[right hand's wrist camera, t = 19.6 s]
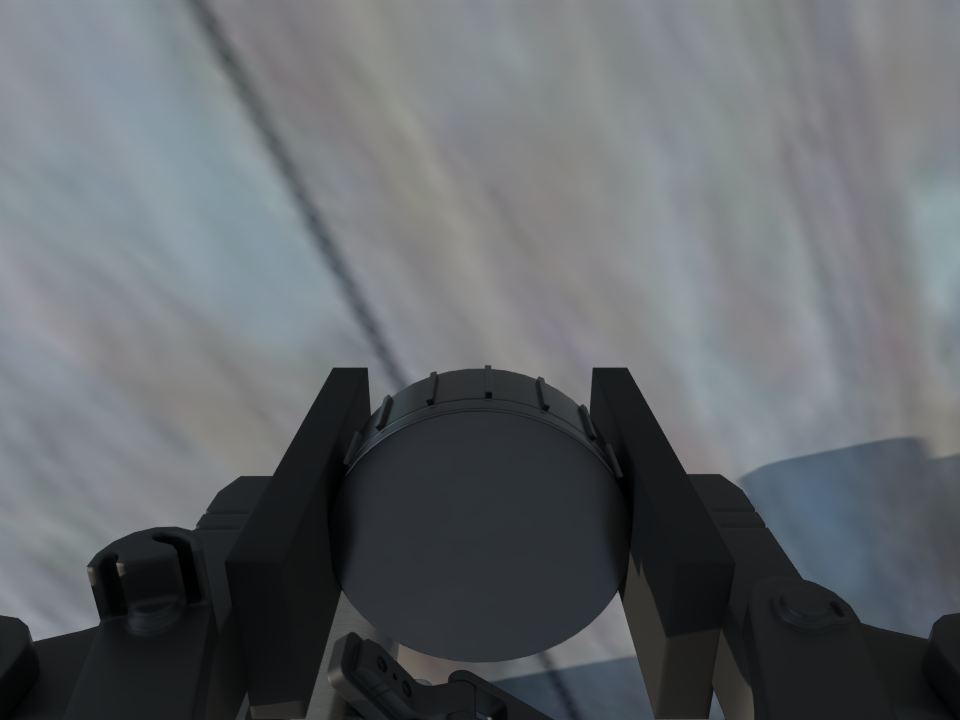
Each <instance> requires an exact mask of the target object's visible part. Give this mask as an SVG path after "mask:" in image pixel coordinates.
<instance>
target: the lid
mask: <svg viewBox="0 0 960 720" xmlns="http://www.w3.org/2000/svg"><path fill="white" fill-rule="evenodd" d="M341 468H343V469H344V472H343V474H342V477H341V480H340V482H339V485H338V488H337V490H336V493H335V496H334V499H333V501H332V504H331V507H330V513H329V518H328V533H329V543H330V553H331V562H332V568H333V571H334V574H335V576H336V578H337V581H338V583H339V585H340V587H341V589H342V591H343V592H344V594H345V595H346V597H347V598H348V600H349V601H350V603H351V604H352V605H353V606H354V608H355V609H356V610H357V611H358V612H359V613H360V615H361V616H362V617H364V618H365V619H366V620H367V621H368V622H369V623H370V624H371V625H372V626H373V627H375V628H376V629H378V630H379V631H380V632H382V633H383V634H385V635H386V636H387V637H389V638H391V639H393V640H395V641H396V642H398V643H400V644H402V645H404V646H406V647H409V648H411V649H413V650H416V651H418V652H421V653H424V654H428V655H431V656H434V657H438V658H443V659H449V660H454V661H464V662H497V661H506V660H512V659H517V658H521V657H526V656H530V655H533V654H536V653H539V652H542V651H545V650H547V649H549V648H552V647H554V646H556V645H558V644H560V643H562V642H564V641H566V640H567V639H569V638H571V637H572V636H574V635H576V634H577V633H579V632H580V631H581V630H582V629H584V628H585V627H586V626H588V625H589V624H590V623H591V622H592V621H593V620H594V619H595V618H596V617H597V616H598V615H600V614H601V613H602V612H603V610H604V609H605V608H606V607H607V605H608V604H609V603H610V601H611V600H612V599H613V597H614V596H615V594H616V592H617V591H618V589H619V587H620V585H621V584H622V581H623V579H624V576H625V574H626V571H627V569H628V565H629V557H630V547H631V537H632V516H631V512H630V508H629V504H628V500H627V498H626V495H625V492H624V490H623V487H622V484H621V482H623V481H625V478H624V475H623V473H622V470H621V468H620V465H619V463H618V460H617V457H616V455H615V452H614V450H613V447H612V445H611V443H610V444H607V445H606V442H605V440H604V438H603V436H602V435H601V433H600V431H599V430H598V428H597V426H596V425H595V423H594V422H593V421H592V420H591V418H590V416H589V413H588V410H587V407H585V406H584V405H583V404H582V405H581V406H580V407H579V406H578V405H577V404H576V403H575V402H574V401H573V400H572V399H570V398H569V397H568V396H566V395H565V394H563V393H562V392H560V391H559V390H557V389H556V388H554V387H552V386H550V385H548V384H546V383H545V380H544V378H542V377H538V379H534V378H531V377H529V376H526V375H523V374H518V373H514V372H510V371H505V370H495V369H491V366H490V365H485V369H464V370H457V371H450V372H446V373H442V374H437V372H436V371H435V372H432V373H431V374H430V377H428V378H426V379H423V380H421V381H419V382H416V383H414V384H412V385H410V386H408V387H407V388H405V389H403V390H401V391H400V392H398V393H397V394H395V395H394V396H393V397H390V395H387V396H386V397H385V398H384V400H383V403H382V406H381V407H380V408H379V409H378V410H377V411H376V412H375V413H374V414H373V415H372V416H371V417H370V418H369V420H368V421H367V422H366V424H365V425H364V426H363V428H362V429H361V431H360V433H359V432H357V431H355V433H354V434H353V437H352V439H351V442H350V444H349V447H348V450H347V452H346V455H345V457H344V460H343V463H342V465H341Z"/></svg>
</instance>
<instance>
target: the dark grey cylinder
mask: <svg viewBox="0 0 960 720" xmlns="http://www.w3.org/2000/svg"><path fill="white" fill-rule="evenodd" d="M350 632H355V633H357V634H358V635H359V636H360V637H361V638H362V639H363V640H366V639H370V640H372V641H374V642H376V643H378V644H380V645H381V646H382V647H383V648H384V649H385V650H386V651H387V652H388V654H390V655H391V656H392V657H393V658H394V661H395V660H396V661H397V657H398V650H399V644H400V643H398V642H396V641H395V640H393V639H391V638H389V637H387V636H386V635H385V634H383V633H382V632H380V631H379V630H378V629H376V628H375V627H373V626H372V625H371V624H370V623H369V622H368V621H367V620H366V619H365V618H364V617H362V616H361V615H360V613H359V612H358V611H357V610H356V609H355V608H354V606H353V605H352V604H351V603H350V601H349V600H348V598H347V597H346V595H345V594H344V592H343V591H342V592H341V595H340V599H339V602H338V606H337V609H336V613H335V616H334V620H333V623H332V627H331V630H330V634H329V638H328V641H327V645H326V648H325V652H324V655H323V659H322V662H321V666H320V669H319V673H318V676H317V680H316V683H315V687H314V690H313V694H312V697H311V701H310V704H309V708H308V711H307V715H306V718H305V719H282V720H367V719H366V718H365V717H364V716H362V715H361V714H360V713H359V712H358V711H357V710H356V709H355V708H354V707H353V706H352V705H351V704H350V703H349V702H348V701H347V700H346V699H344V698H343V697H342V696H341V695H340V694H339V693H338V692H337V691H336V690H335V689H334V688H333V687H332V686H331V684H330V683H329V680H328V676H327V670H328V666H329V662H330V658H331V654H332V650H333V647H334V643H335V641H336V640H338V639H339V638H341V637H343V636H345V635H346V634H348V633H350Z"/></svg>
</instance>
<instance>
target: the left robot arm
mask: <svg viewBox="0 0 960 720" xmlns="http://www.w3.org/2000/svg"><path fill="white" fill-rule="evenodd" d="M327 676H328V680H329V683H330V684H331V686H332V687H333V688H334V689H335V690H336V691H337V692H338V693H339V694H340V695H341V696H342V697H343V698H344V699H346V700H347V701H348V702H349V703H350V704H351V705H352V706H353V707H354V708H355V709H356V710H357V711H358V712H359V713H360V714H361V715H362V716H364V717H365V718H366V719H367V720H481V719H479V718H477V717H476V711H477V712H479V713H481V714H483V715H484V716H485V717H486V718H487V719H488V720H553V719H552V718H550V717H548V716H546V715H545V714H543V713H541V712H540V711H538V710H536V709H534V708H533V707H531V706H529V705H527V704H526V703H524V702H522V701H520V700H519V699H517V698H515V697H513V696H512V695H510V694H508V693H506V692H505V691H503V690H501V689H499V688H498V687H496V686H494V685H492V684H491V683H489V682H487V681H485V680H484V679H482V678H480V677H478V676H477V675H475V674H473V673H472V672H469V671H467V670H458V671H455V672H453V673H452V674H451V675H450V676H449V678H448V683H446V684H440V685H435V686H432V684H431V683H430V682H428V681H426V680H423V679H415V680H414V679H413V678H412V677H411V676H410V675H409V674H408V673H407V672H406V671H405V670H404V669H403V668H402V667H401V666H400V665H399V663H398V662H397V661H396V660H395V661H394V658H393V657H392V656H391V655H390V654H388V652H387V651H386V650H385V649H384V648H383V647H382V646H381V645H380V644H378V643H376V642H374V641H372V640H370V639H366V640H363V639H362V638H361V637H360V636H359V635H358V634H357V633H355V632H350V633H348V634H346V635H345V636H343V637H341V638H339V639H338V640H336V641H335V643H334V647H333V650H332V654H331V658H330V662H329V666H328V670H327ZM236 720H282V719H252V716H251V711H250V705H249V699H248V694H247V693H246V695H245V698H244V700H243V703H242V705H241V708H240V710H239V713H238V715H237V718H236Z"/></svg>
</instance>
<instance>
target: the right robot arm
mask: <svg viewBox="0 0 960 720" xmlns="http://www.w3.org/2000/svg"><path fill="white" fill-rule="evenodd" d="M370 417H371V410H370V396H369V381H368V368H333V369H332V371H331V373H330V374H329V376H328V378H327V380H326V382H325V383H324V385H323V387H322V389H321V391H320V392H319V394H318V396H317V398H316V400H315V401H314V403H313V405H312V407H311V408H310V410H309V412H308V414H307V416H306V417H305V419H304V421H303V423H302V425H301V426H300V428H299V430H298V432H297V434H296V435H295V437H294V439H293V441H292V442H291V444H290V446H289V448H288V450H287V451H286V453H285V455H284V457H283V459H282V460H281V462H280V464H279V466H278V467H277V469H276V471H275V473H274V475H273V476H240V477H239V478H238V479H236V480H235V481H233V482H232V483H231V484H229V485H228V486H226V487H225V488H224V489H222V490H221V491H219V492H218V494H217V495H216V497H215V498H214V500H213V501H212V503H211V504H210V506H209V507H208V508H207V510H206V514H203V516H202V517H201V519H200V520H199V522H198V523H197V525H196V529H195V530H193V531H191V530H187V529H183V528H179V527H155V528H151V529H147V530H143V531H138V532H134V533H132V534H130V535H127V536H125V537H123V538H121V539H118V540H116V541H114V542H112V543H111V544H110V545H108V546H107V547H105V548H104V549H103V550H101V551H100V552H98V553H97V554H96V555H95V557H94V558H93V559H92V560H91V562H90V563H89V564H88V566H87V567H86V569H87V572H88V576H89V580H90V583H91V587H92V591H93V594H94V598H95V602H96V605H97V609H98V613H99V616H100V620H101V621H100V624H99V626H96V627H93V628H90V629H86V630H83V631H79V632H74V633H70V634H66V635H61V636H57V637H52V638H48V639H44V640H39V641H35V642H33V640H32V637H31V634H30V631H29V628H28V626H27V625H26V624H25V623H23V622H22V621H21V620H20V619H19V618H14V617H8V616H1V615H0V720H236V718H237V715H238V713H239V710H240V708H241V705H242V703H243V700H244V698H245V695H246V693H247V694H248V699H249V705H250V711H251V716H252V719H305V718H306V715H307V711H308V708H309V704H310V701H311V697H312V694H313V690H314V687H315V683H316V680H317V676H318V673H319V669H320V666H321V662H322V659H323V655H324V652H325V648H326V645H327V641H328V638H329V634H330V630H331V627H332V623H333V620H334V616H335V613H336V609H337V606H338V602H339V599H340V595H341V592H342V589H341V587H340V585H339V583H338V581H337V578H336V576H335V574H334V571H333V568H332V562H331V553H330V543H329V533H328V518H329V513H330V507H331V504H332V501H333V499H334V496H335V493H336V490H337V488H338V485H339V482H340V480H341V477H342V474H343V472H344V469H343V468H341V465H342V463H343V460H344V457H345V455H346V452H347V450H348V447H349V444H350V442H351V439H352V437H353V434H354V433H355V431H357V432H359V433H360V431H361V429H362V428H363V426H364V425H365V424H366V422H367V421H368V420H369V418H370ZM590 418H591V420H592V421H593V422H594V423H595V425H596V426H597V428H598V430H599V431H600V433H601V435H602V436H603V438H604V440H605V442H606V445H607V444H610V443H611V445H612V447H613V450H614V452H615V455H616V457H617V460H618V463H619V465H620V468H621V470H622V473H623V475H624V478H625V481H623V482H621V484H622V487H623V490H624V492H625V495H626V498H627V500H628V504H629V508H630V512H631V516H632V537H631V547H630V557H629V565H628V569H627V571H626V574H625V576H624V579H623V581H622V584H621V585H620V587H619V589H618V591H619V594H620V598H621V601H622V605H623V608H624V612H625V615H626V619H627V622H628V626H629V629H630V633H631V636H632V640H633V643H634V647H635V650H636V654H637V657H638V661H639V664H640V668H641V671H642V675H643V678H644V682H645V685H646V689H647V692H648V696H649V699H650V703H651V706H652V710H653V713H654V717H655V719H708V718H709V713H710V707H711V701H712V696H713V690H714V691H715V693H716V696H717V698H718V701H719V703H720V706H721V708H722V711H723V713H724V716H725V720H960V613H956V614H950V615H943V616H942V617H941V618H940V619H938V620H937V621H936V622H935V623H934V624H933V627H932V630H931V633H930V636H929V639H924V638H920V637H916V636H911V635H907V634H902V633H898V632H893V631H889V630H885V629H880V628H877V627H873V626H870V625H866V624H863V623H860V620H859V618H858V617H857V615H856V614H855V612H854V611H853V609H852V608H851V606H850V605H849V604H848V603H846V602H845V601H844V600H843V599H841V598H840V597H839V596H838V595H837V594H835V593H834V592H832V591H830V590H828V589H826V588H824V587H822V586H820V585H818V584H816V583H814V582H811V581H807V580H803V579H802V577H801V576H800V574H799V573H798V571H797V570H796V568H795V567H794V565H793V564H792V562H791V561H790V560H789V558H788V557H787V555H786V554H785V552H784V551H783V549H782V548H781V546H780V545H779V543H778V542H777V540H776V539H775V538H774V536H773V535H772V533H771V532H770V530H769V529H768V528H766V527H765V523H764V521H763V520H762V518H761V517H760V515H759V514H758V513H757V512H755V508H754V507H753V505H752V504H751V502H750V501H749V499H748V498H747V496H746V495H745V493H744V492H743V491H742V490H741V489H740V488H739V487H737V486H736V485H734V484H733V483H732V482H730V481H729V480H727V479H726V478H725V477H723V476H722V475H720V474H686V472H685V470H684V469H683V467H682V465H681V463H680V461H679V460H678V458H677V456H676V454H675V452H674V451H673V449H672V447H671V445H670V443H669V442H668V440H667V438H666V436H665V435H664V433H663V431H662V429H661V427H660V426H659V424H658V422H657V420H656V418H655V417H654V415H653V413H652V411H651V410H650V408H649V406H648V404H647V402H646V401H645V399H644V397H643V395H642V393H641V392H640V390H639V388H638V386H637V385H636V383H635V381H634V379H633V377H632V376H631V374H630V372H629V370H628V368H593V372H592V387H591V401H590Z"/></svg>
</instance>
